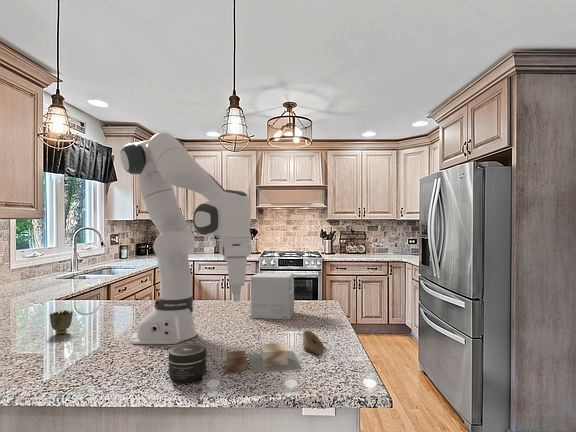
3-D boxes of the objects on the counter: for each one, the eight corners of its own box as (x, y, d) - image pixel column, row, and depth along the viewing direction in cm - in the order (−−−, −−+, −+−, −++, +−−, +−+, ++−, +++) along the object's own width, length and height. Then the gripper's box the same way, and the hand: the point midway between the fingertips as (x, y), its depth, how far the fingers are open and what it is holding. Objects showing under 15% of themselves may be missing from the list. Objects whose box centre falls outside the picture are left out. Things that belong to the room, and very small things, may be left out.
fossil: (305, 340, 112) (304, 324, 122) (295, 350, 113) (295, 333, 122) (327, 358, 113) (324, 341, 123) (317, 368, 114) (315, 350, 123)
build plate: (252, 376, 100) (252, 372, 100) (248, 357, 114) (248, 354, 114) (302, 372, 103) (302, 368, 103) (292, 354, 117) (292, 351, 117)
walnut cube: (227, 376, 101) (227, 358, 101) (227, 369, 105) (226, 351, 106) (246, 375, 101) (245, 356, 101) (244, 368, 106) (244, 350, 106)
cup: (77, 332, 142) (77, 311, 142) (58, 337, 135) (58, 315, 135) (64, 330, 145) (64, 309, 145) (45, 335, 138) (45, 313, 138)
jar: (204, 384, 95) (203, 355, 96) (164, 386, 95) (164, 356, 95) (209, 369, 105) (209, 342, 106) (173, 370, 105) (173, 343, 105)
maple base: (263, 366, 104) (263, 352, 104) (260, 357, 111) (260, 344, 111) (288, 364, 106) (287, 350, 106) (283, 355, 113) (283, 342, 113)
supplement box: (294, 312, 170) (294, 272, 170) (289, 320, 157) (289, 277, 157) (258, 311, 173) (257, 272, 173) (250, 318, 160) (250, 276, 160)
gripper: (223, 245, 113) (223, 291, 113) (224, 250, 93) (225, 306, 93) (244, 245, 115) (244, 290, 114) (249, 250, 94) (250, 304, 94)
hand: (235, 297), depth 104 cm, fingers open, 8 cm apart
